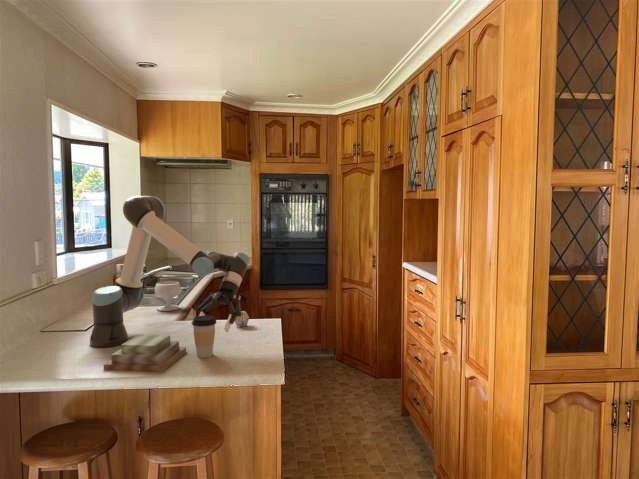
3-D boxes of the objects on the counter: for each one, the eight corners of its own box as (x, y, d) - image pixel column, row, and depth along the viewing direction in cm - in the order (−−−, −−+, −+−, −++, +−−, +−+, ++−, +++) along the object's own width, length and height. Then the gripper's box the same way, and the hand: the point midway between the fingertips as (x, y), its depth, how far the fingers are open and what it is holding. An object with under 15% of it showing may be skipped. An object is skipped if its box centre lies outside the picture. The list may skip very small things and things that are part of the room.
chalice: (150, 309, 260) (149, 282, 259) (172, 305, 271) (171, 279, 270) (164, 313, 251) (163, 285, 250) (186, 308, 262) (185, 282, 261)
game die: (244, 335, 224) (245, 322, 217) (228, 328, 225) (229, 314, 218) (252, 322, 230) (254, 309, 224) (237, 315, 232) (238, 302, 225)
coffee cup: (195, 351, 188) (194, 315, 186) (218, 351, 189) (217, 314, 187) (190, 359, 178) (189, 321, 177) (215, 359, 179) (214, 320, 178)
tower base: (103, 369, 168) (102, 348, 167) (134, 350, 190) (133, 331, 189) (161, 372, 166) (161, 350, 165) (186, 352, 187) (185, 332, 187)
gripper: (259, 291, 196) (242, 336, 183) (209, 287, 205) (189, 330, 192) (253, 281, 190) (234, 326, 178) (201, 278, 199) (180, 321, 187)
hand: (211, 328), depth 185 cm, fingers open, 13 cm apart
